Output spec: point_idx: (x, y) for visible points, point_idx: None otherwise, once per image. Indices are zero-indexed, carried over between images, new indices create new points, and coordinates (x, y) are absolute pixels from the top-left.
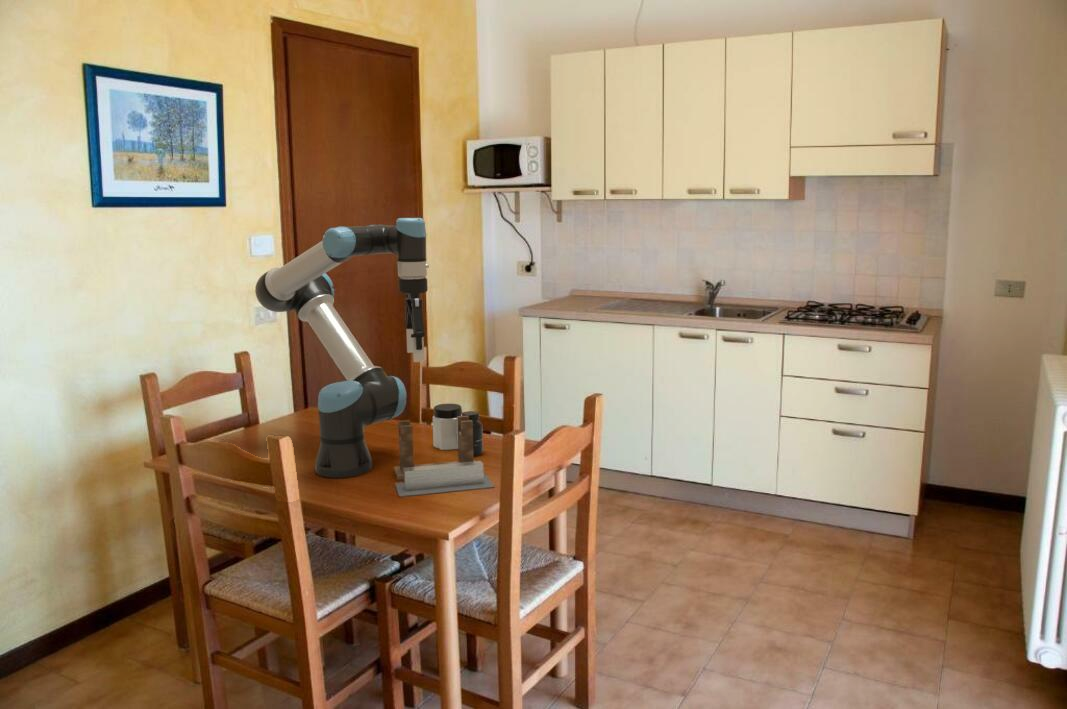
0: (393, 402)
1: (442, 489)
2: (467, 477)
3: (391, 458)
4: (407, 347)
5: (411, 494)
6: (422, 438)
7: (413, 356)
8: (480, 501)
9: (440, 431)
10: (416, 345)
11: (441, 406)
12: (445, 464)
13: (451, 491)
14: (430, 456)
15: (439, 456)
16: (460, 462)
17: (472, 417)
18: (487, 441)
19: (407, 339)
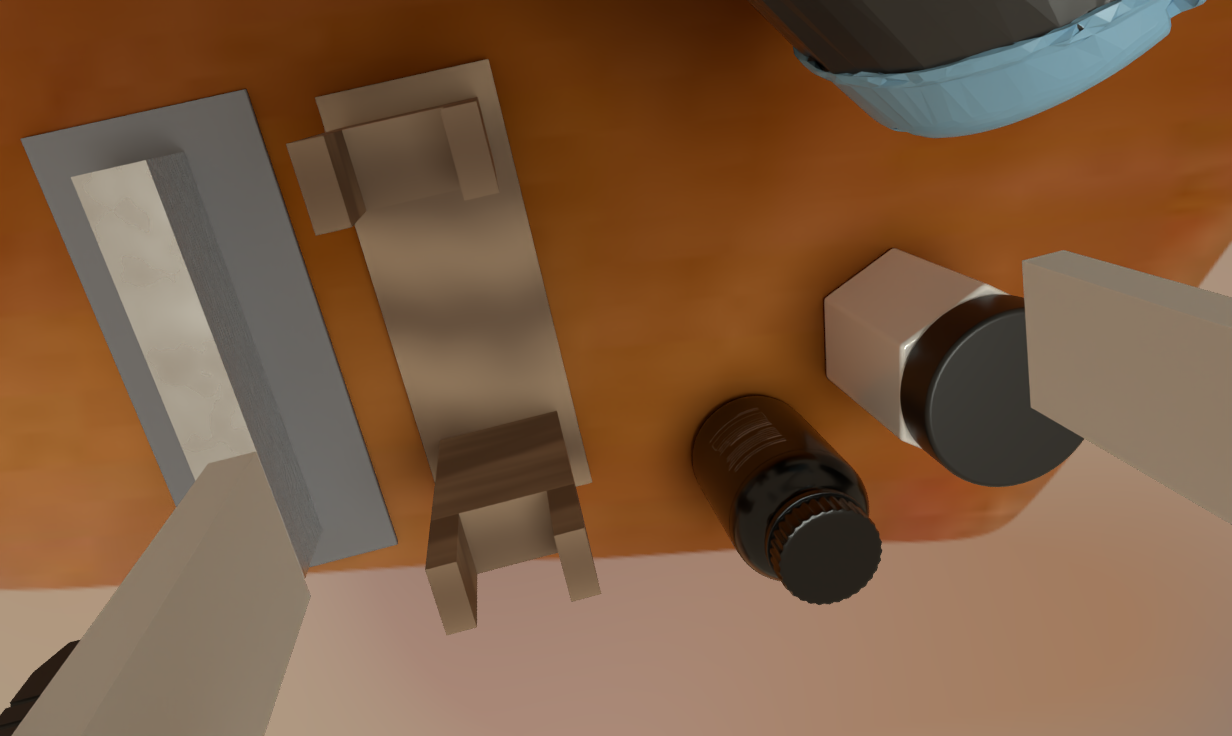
0: (786, 29)
1: None
2: None
3: (714, 19)
4: (1077, 281)
5: (55, 204)
6: (1059, 170)
7: (228, 490)
8: (12, 544)
9: (871, 319)
10: (20, 706)
11: None
12: (228, 402)
13: (133, 404)
14: (724, 245)
15: (719, 294)
16: (498, 431)
17: (774, 565)
18: (933, 512)
19: (1187, 323)
